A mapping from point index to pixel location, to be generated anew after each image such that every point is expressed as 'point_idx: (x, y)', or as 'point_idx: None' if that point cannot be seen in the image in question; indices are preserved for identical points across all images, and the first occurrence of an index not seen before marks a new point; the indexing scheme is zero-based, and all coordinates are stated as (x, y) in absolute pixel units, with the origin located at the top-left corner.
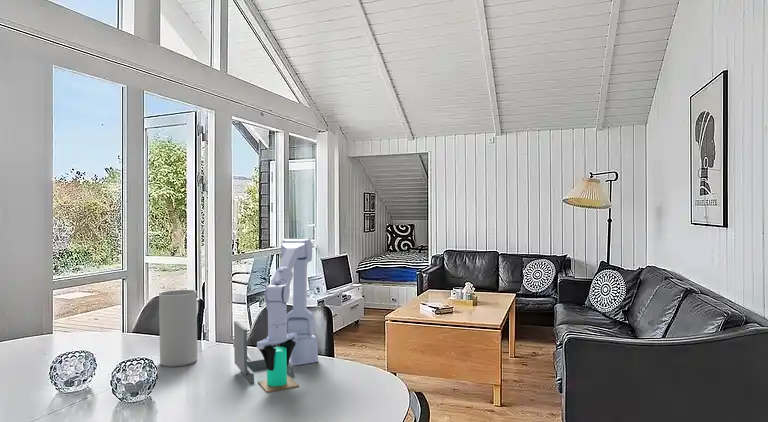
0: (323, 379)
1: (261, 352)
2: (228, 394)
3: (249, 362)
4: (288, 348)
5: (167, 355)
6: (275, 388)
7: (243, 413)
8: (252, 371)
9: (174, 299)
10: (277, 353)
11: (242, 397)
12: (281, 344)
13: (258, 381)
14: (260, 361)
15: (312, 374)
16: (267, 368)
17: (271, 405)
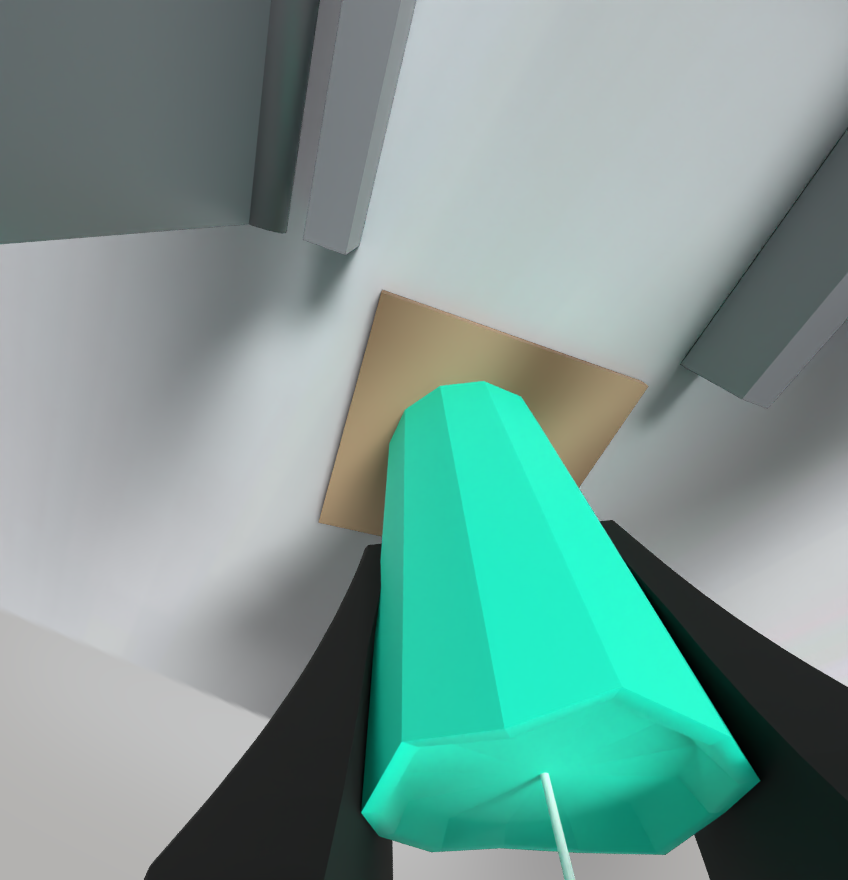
0: (704, 558)
1: (222, 796)
2: (48, 353)
3: None
4: (701, 830)
5: None
6: None
7: (103, 636)
8: (364, 165)
9: None
10: (449, 823)
11: (147, 478)
12: (817, 830)
13: (383, 298)
14: None
15: (784, 448)
16: (364, 560)
17: (258, 641)
